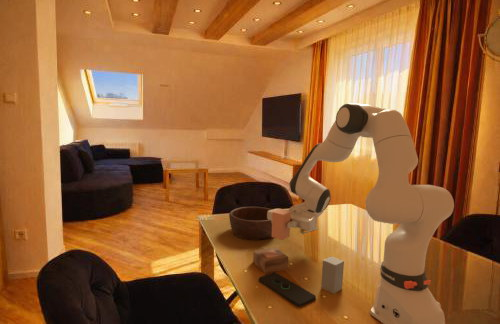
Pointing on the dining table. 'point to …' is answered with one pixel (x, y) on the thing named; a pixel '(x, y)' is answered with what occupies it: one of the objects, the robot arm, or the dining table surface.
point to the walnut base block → (270, 260)
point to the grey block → (332, 274)
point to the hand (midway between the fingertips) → (279, 223)
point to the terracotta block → (280, 224)
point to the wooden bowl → (251, 223)
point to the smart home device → (287, 289)
